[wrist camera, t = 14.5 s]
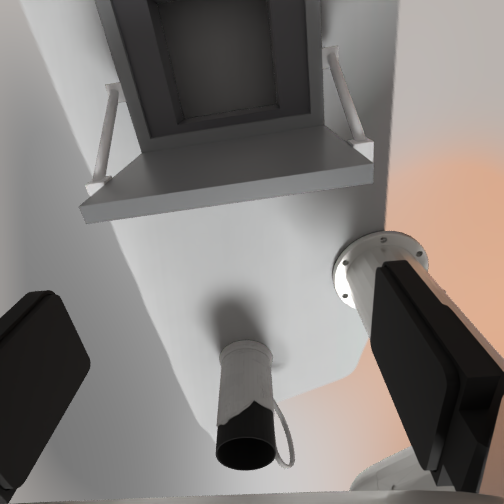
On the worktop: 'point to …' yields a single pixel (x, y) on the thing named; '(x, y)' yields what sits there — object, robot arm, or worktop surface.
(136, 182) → the case
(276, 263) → the worktop surface
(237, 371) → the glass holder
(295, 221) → the worktop surface
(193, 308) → the worktop surface
